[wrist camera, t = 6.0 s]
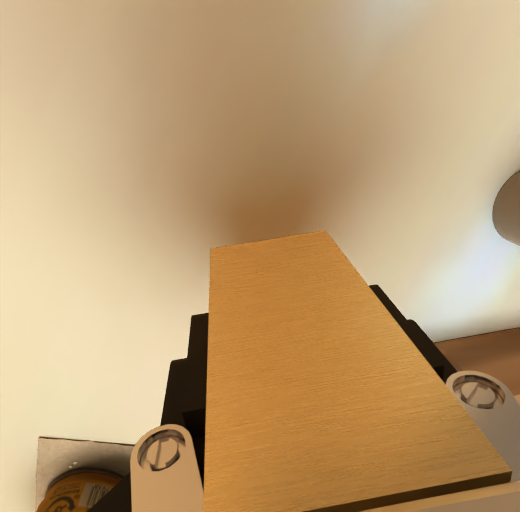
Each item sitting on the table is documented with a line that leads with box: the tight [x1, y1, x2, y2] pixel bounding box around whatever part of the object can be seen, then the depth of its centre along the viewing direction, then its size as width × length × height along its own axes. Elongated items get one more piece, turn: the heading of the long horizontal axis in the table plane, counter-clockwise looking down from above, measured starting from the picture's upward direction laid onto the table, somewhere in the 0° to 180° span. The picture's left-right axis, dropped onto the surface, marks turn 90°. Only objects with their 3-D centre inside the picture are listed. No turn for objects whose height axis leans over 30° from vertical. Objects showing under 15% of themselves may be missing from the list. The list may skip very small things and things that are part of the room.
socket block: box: [434, 328, 520, 405], centre depth 24 cm, size 16×18×5 cm
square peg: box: [203, 231, 512, 512], centre depth 11 cm, size 4×4×10 cm
